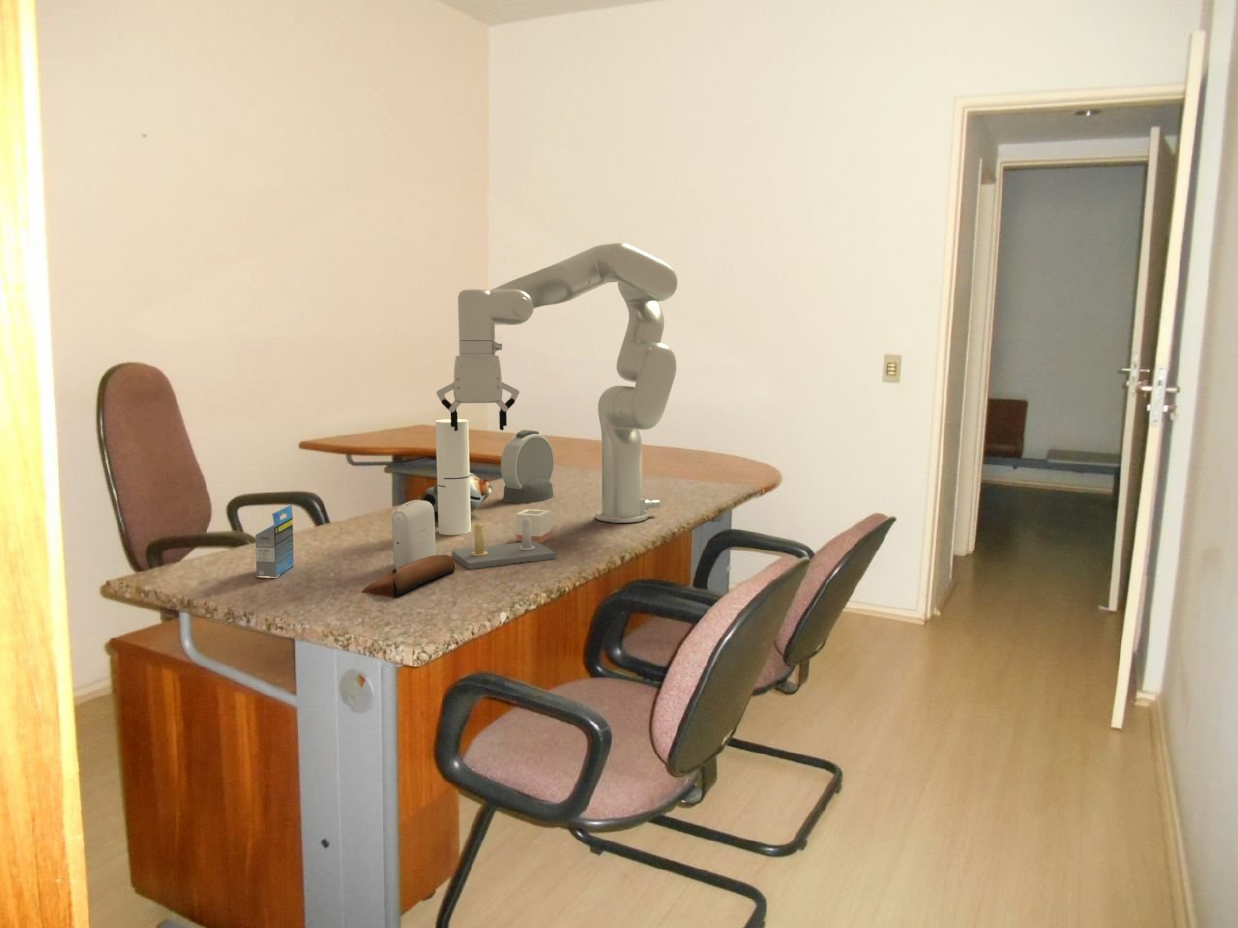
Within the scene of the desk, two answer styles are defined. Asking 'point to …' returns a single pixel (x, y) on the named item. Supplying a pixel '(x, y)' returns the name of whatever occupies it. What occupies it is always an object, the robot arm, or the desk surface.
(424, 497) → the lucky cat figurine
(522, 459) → the alarm clock
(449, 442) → the cylindrical container
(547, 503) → the desk surface
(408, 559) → the photo printer
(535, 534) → the sleeve
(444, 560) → the sunglasses case
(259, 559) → the label tape box
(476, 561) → the pin board
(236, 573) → the desk surface
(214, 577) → the desk surface
